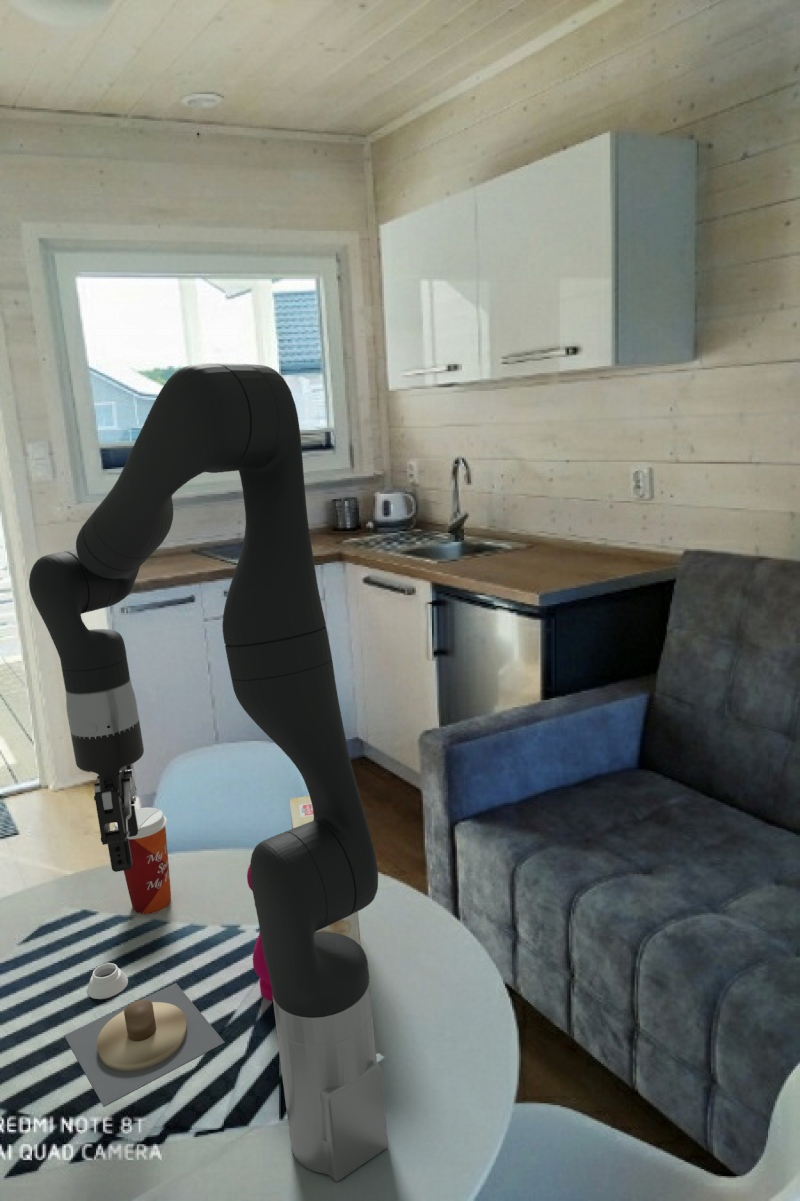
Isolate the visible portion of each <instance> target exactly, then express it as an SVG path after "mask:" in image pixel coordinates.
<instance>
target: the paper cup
mask: <svg viewBox="0 0 800 1201" xmlns="http://www.w3.org/2000/svg"><path fill="white" fill-rule="evenodd" d="M135 813H136V819H137V825H138V834H137V835H136V836H132V837H128V838H129V844H130V850H131V856H132V862H133V863H132V867H131V869H129V870H124V871H123V874H124V877H125V878H124V879H125V882H126V883H125V884H126V886H127V887H126V888H127V891H128V895H129V899H130V902H131V906H132V910H133V911H134V912H135V913H137V914H140V915H149V914H150V915H151V914H156V913H158V912H161V911H162V910H164V909H166V908H167V907H168V906H169V905H170V904H171V901H172V891H171V889H172V888H171V878H170V876H171V875H170V864H169V855H168V854H169V852H168V844H167V843H168V842H167V840H168V839H167V829H166V825H167V824H168V819H167V817H166V816H165V815H164V813H163V811H162V810H161V809H159V808H155V807H138V808H135ZM113 824H114V826H113V828H112V831H113V830H118V825H117V822H114V823H113Z"/></svg>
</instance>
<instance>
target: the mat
mask: <svg viewBox="0 0 800 1201" xmlns="http://www.w3.org/2000/svg"><path fill="white" fill-rule="evenodd" d="M140 1000H148V1001H150V1002H163V1003H169V1004H172V1005H174V1006H176V1007H178V1008H179V1009H181V1010H182V1012H183V1013H184V1015H185V1017H186V1024H187V1034H186V1037H185V1040H184V1042H183V1043H182V1045H181V1046H180V1047H179V1049H178V1050H177V1051H176V1052H175V1053H173V1054H172V1055H171V1056H170V1057H168V1058H167V1059H165V1060H164V1061H162V1062H160V1063H158V1064H156V1065H154V1066H151V1067H149V1068H145V1069H141V1070H136V1071H118V1070H114V1069H111V1068H109V1067H107V1066H106V1065H105V1064H103V1063H102V1061H101V1060H100V1058H99V1054H98V1049H97V1039H98V1036H99V1034H100V1032H101V1030H102V1029H103V1027H104V1026H105V1025H106V1024H107V1023H108V1022H109V1021H110V1020H111V1019H112V1018H113V1017H115V1016H116V1015H118V1014H119V1013H121V1012H123V1011H124V1010H125V1009H126V1007H127V1006H128V1005H126V1006H124V1007H121V1008H120V1009H118V1010H115V1011H112V1013H109V1014H106V1015H104V1016H101V1017H100V1018H98V1019H96V1020H94V1021H92V1022H90V1023H88V1024H85V1025H83V1026H82V1027H79V1028H77V1029H75V1030H72V1031H70V1032H68V1033H66V1034H64V1035H63V1036H64V1038H65V1040H66V1042H67V1044H68V1045H69V1048H70V1049H71V1051H72V1053H73V1054H74V1056H75V1058H76V1060H77V1062H78V1063H79V1065H80V1067H81V1069H82V1071H83V1072H84V1075H85V1076H86V1078H87V1079H88V1081H89V1083H90V1084H91V1086H92V1088H93V1090H94V1092H95V1093H96V1096H97V1097H98V1099H99V1100H100V1103H101V1104H102V1106H103V1107H107V1106H108V1105H110V1104H111V1103H113V1102H115V1101H117V1100H119V1099H122V1098H123V1097H125V1096H126V1095H129V1094H130V1093H133V1092H134V1091H136V1090H138V1089H140V1088H142V1087H144V1086H146V1085H148V1084H149V1083H151V1082H153V1081H155V1080H157V1079H159V1078H161V1077H163V1076H164V1075H166V1074H168V1073H170V1072H172V1071H174V1070H176V1069H178V1068H180V1067H181V1066H183V1065H185V1064H187V1063H190V1062H191V1061H193V1060H195V1059H196V1058H199V1057H201V1056H202V1055H205V1054H206V1053H208V1052H211V1051H212V1050H214V1049H216V1048H218V1047H220V1046H221V1045H223V1044H225V1043H226V1042H225V1041H224V1040H223V1038H222V1037H221V1036H220V1034H219V1033H218V1032H217V1031H216V1030H215V1028H214V1027H213V1026H212V1025H211V1024H210V1023H209V1021H208V1020H207V1019H206V1018H205V1016H204V1015H203V1014H202V1013H201V1011H200V1010H199V1008H197V1007H196V1005H195V1004H194V1003H193V1002H192V1000H191V999H190V998H189V997H188V996H187V994H186V993H185V992H184V991H183V990H182V988H181V987H180V986H179V985H178V983H177V982H175V983H172V984H171V985H169V986H167V987H164V988H162V989H160V990H158V991H156V992H154V993H151V994H149V995H147V996H145V997H143V998H141V999H140Z"/></svg>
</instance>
